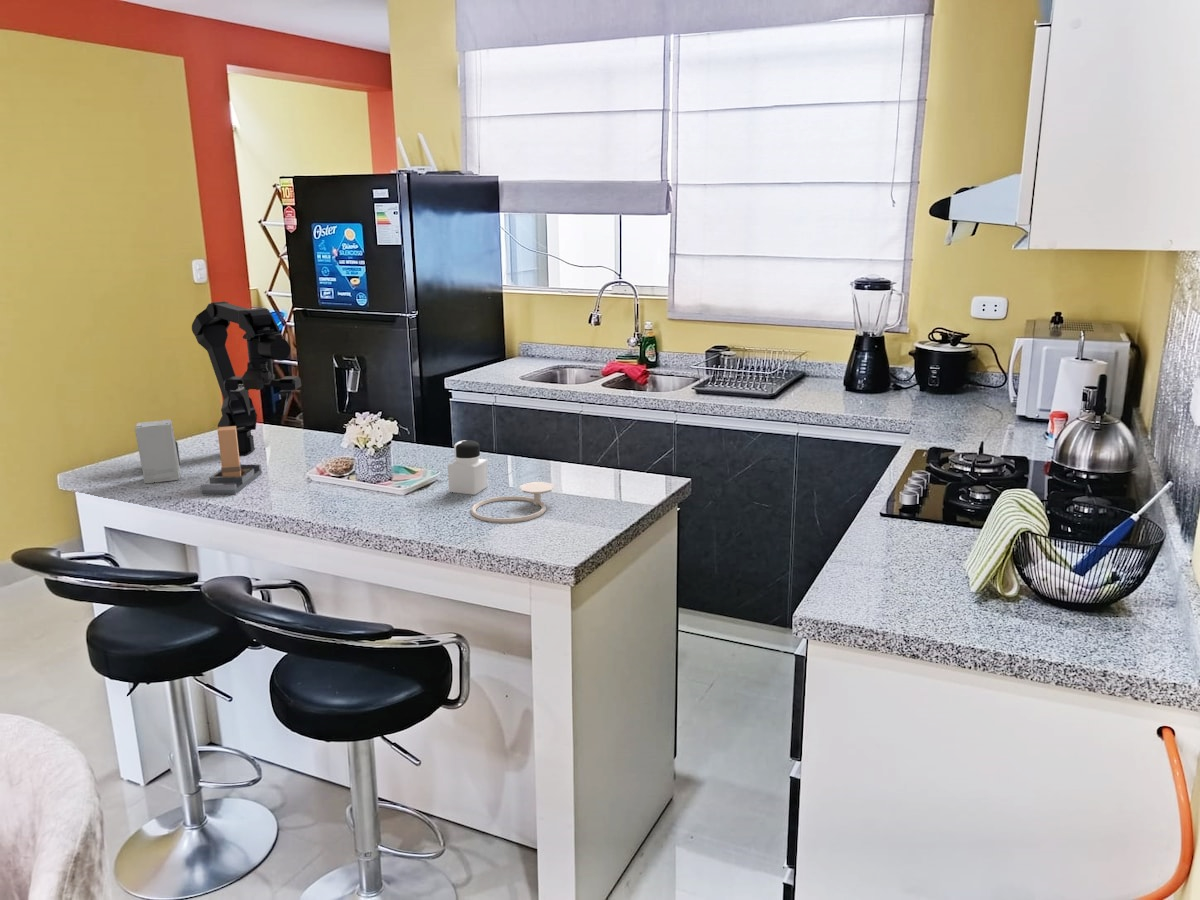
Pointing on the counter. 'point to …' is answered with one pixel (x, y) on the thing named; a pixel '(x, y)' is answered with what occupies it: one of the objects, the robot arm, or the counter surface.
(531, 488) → the hand towel holder
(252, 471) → the dark grey holder base
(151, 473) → the skincare box
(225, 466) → the tan tall block
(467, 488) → the medicine bottle
